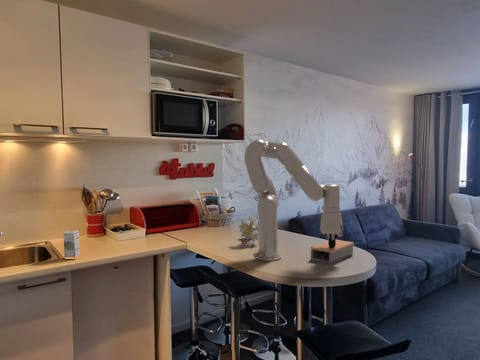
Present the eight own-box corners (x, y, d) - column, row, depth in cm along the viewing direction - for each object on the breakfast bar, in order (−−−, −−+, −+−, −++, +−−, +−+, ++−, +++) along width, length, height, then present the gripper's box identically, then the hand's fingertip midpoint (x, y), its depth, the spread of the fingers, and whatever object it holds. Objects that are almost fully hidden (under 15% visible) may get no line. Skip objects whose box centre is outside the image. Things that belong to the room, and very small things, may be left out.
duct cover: (331, 253, 158) (331, 250, 158) (310, 248, 166) (310, 246, 166) (353, 244, 173) (353, 242, 173) (333, 241, 181) (333, 239, 181)
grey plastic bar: (324, 259, 163) (324, 255, 163) (321, 258, 164) (321, 254, 164) (342, 251, 176) (342, 248, 176) (339, 251, 177) (339, 247, 177)
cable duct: (330, 264, 158) (330, 253, 158) (310, 259, 166) (310, 249, 166) (352, 254, 174) (352, 244, 174) (333, 250, 182) (333, 241, 181)
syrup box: (80, 256, 180) (79, 229, 179) (75, 259, 174) (74, 232, 173) (69, 256, 180) (68, 230, 179) (64, 260, 174) (62, 232, 173)
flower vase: (243, 248, 216) (242, 248, 192) (237, 220, 220) (236, 216, 196) (263, 244, 217) (265, 243, 192) (256, 216, 221) (258, 212, 196)
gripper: (314, 209, 166) (314, 246, 167) (342, 212, 156) (342, 251, 156) (322, 207, 171) (322, 243, 172) (349, 210, 161) (350, 248, 162)
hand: (332, 247), depth 164 cm, fingers closed
